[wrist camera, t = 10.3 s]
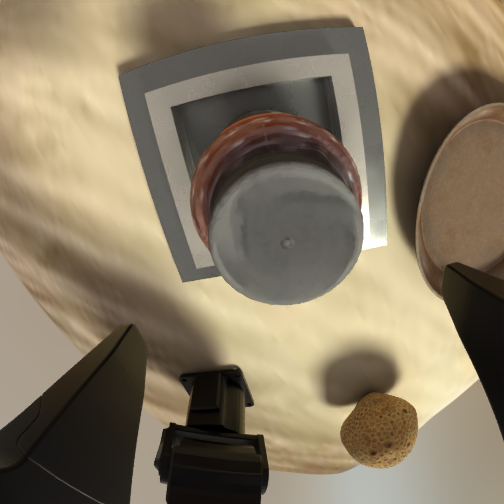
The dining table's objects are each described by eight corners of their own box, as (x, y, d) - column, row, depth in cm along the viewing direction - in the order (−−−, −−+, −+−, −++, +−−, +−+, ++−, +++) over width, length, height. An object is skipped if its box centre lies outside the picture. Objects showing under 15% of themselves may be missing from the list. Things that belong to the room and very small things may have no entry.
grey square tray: (381, 238, 21) (397, 258, 18) (185, 275, 22) (177, 299, 20) (357, 30, 14) (374, 20, 11) (124, 76, 15) (104, 73, 13)
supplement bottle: (237, 217, 19) (223, 354, 9) (199, 131, 16) (121, 181, 6) (326, 186, 18) (408, 295, 8) (295, 95, 15) (367, 86, 5)
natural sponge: (419, 376, 30) (447, 442, 21) (378, 415, 34) (395, 476, 25) (363, 370, 28) (387, 450, 19) (323, 413, 32) (335, 483, 23)
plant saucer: (424, 317, 25) (437, 338, 23) (364, 150, 18) (382, 159, 15) (539, 234, 21) (555, 247, 18) (514, 75, 14) (538, 78, 11)
